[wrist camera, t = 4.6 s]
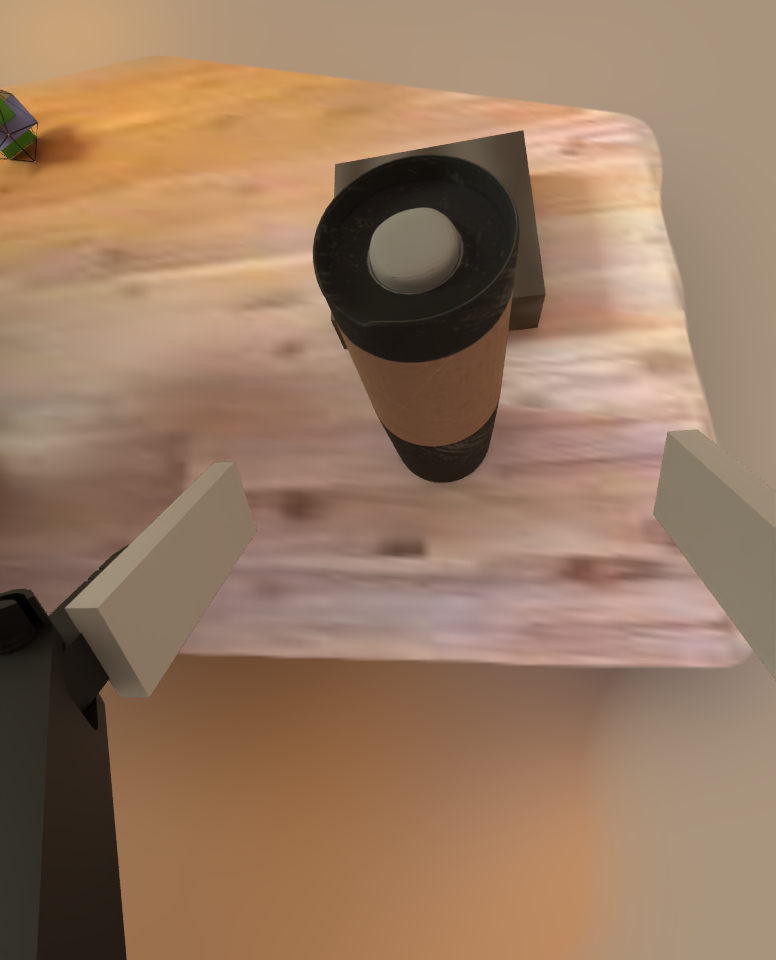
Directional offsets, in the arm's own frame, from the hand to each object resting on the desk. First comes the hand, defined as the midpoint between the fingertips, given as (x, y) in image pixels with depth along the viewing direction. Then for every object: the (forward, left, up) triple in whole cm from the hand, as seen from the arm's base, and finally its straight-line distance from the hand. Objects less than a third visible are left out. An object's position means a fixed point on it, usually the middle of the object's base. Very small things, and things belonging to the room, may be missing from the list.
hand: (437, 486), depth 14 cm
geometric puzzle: (-48, +50, -19) cm, 72 cm away
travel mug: (0, +9, -19) cm, 21 cm away
